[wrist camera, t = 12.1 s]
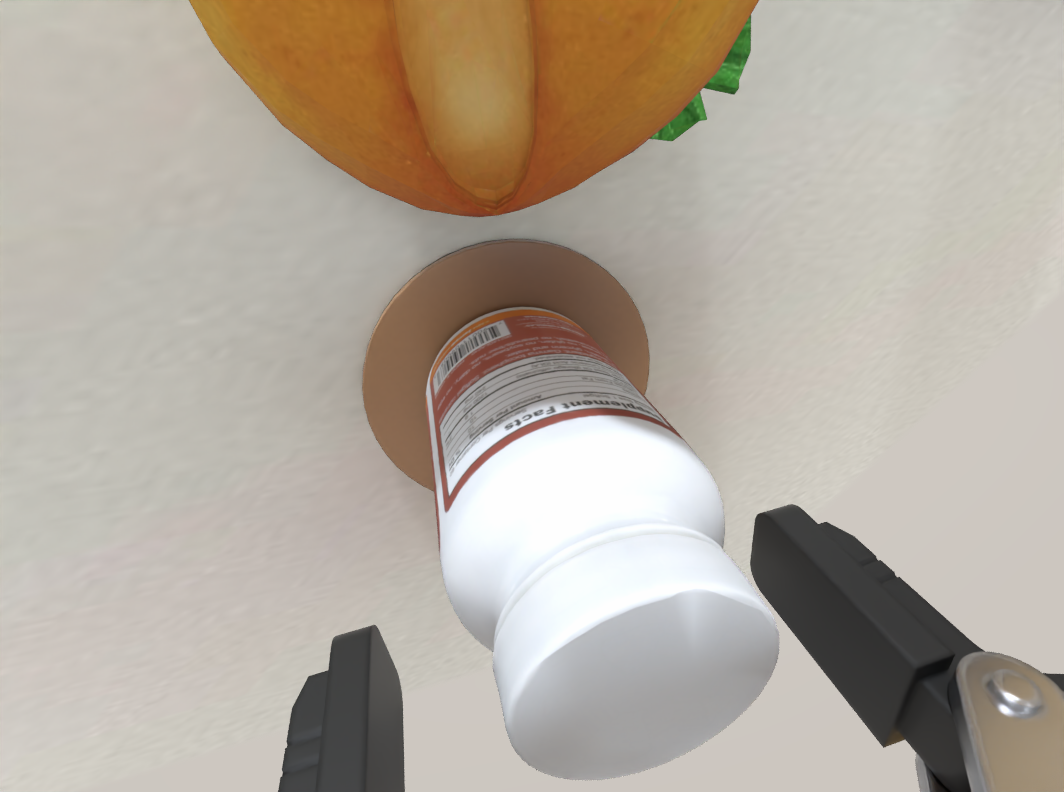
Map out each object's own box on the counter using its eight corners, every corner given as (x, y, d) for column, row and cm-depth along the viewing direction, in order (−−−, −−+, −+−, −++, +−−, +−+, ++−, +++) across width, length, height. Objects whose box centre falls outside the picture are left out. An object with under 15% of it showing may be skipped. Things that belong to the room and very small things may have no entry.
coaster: (408, 525, 20) (408, 532, 20) (318, 275, 15) (316, 278, 15) (649, 461, 21) (653, 467, 21) (640, 210, 16) (645, 212, 16)
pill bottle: (573, 467, 20) (732, 786, 10) (411, 455, 18) (425, 831, 8) (623, 317, 17) (896, 556, 8) (441, 283, 15) (508, 546, 6)
